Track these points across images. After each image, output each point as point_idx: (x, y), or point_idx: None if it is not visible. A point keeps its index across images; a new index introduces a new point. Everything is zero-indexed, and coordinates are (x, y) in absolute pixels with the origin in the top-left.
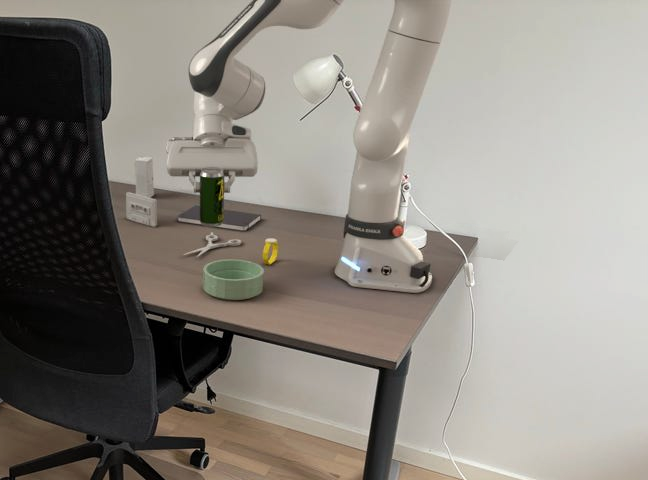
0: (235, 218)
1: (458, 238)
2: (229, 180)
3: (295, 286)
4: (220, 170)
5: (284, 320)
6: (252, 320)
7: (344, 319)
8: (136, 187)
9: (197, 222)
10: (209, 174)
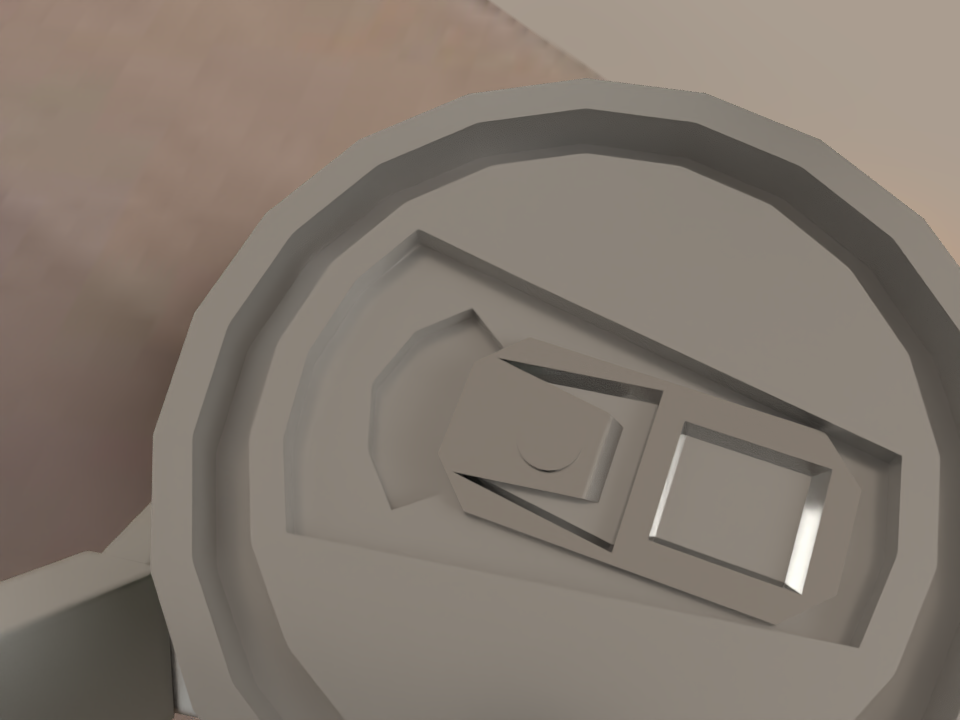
0: None
1: None
2: (89, 581)
3: (46, 449)
4: (307, 298)
5: (302, 47)
6: (451, 61)
7: (34, 30)
8: None
9: None
10: (728, 157)
